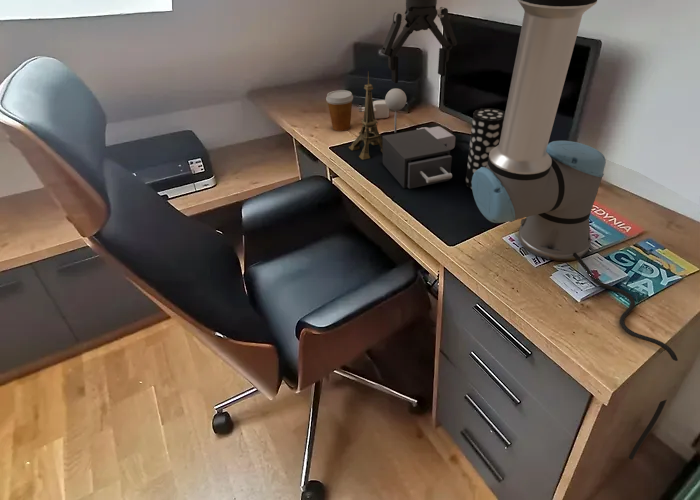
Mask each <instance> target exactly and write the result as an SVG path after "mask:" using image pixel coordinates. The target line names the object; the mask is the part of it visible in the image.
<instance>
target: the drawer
mask: <svg viewBox="0 0 700 500" xmlns="http://www.w3.org/2000/svg"><path fill="white" fill-rule="evenodd" d="M452 161H453V156H452V155H451V154H450V155H447V156H445V154H440V155H435V156H430V157H425V158H420V159H415V160H409V161H407V183H408V188H407V189H408V190H411V189H416V188H419V187H425V186H429V185H434V184H440V183H444V182H448V181H449V182H450V181H451V179H452V178H453V173H451V170H452Z"/></svg>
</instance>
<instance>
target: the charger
mask: <svg viewBox="0 0 700 500" xmlns="http://www.w3.org/2000/svg"><path fill="white" fill-rule="evenodd" d="M418 129H426V130H427V131H428V132H429V133H430V134H432V135H433V136H434V137H435V138H436V139H438V140H439V141H440V142H441V143H442V144H444V145H445V146H446V147H447V148H448V149H450V151H451V150H453V149H454V148H455V146H456V137H457V136H455V135H454V134H452V133H451V132H449V131H448V130H447V129H445V128H443V127H442V126H432V127H427V126H424V127H419V128H418V127H417V128H416V130H418Z"/></svg>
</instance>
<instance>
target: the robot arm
mask: <svg viewBox="0 0 700 500" xmlns="http://www.w3.org/2000/svg"><path fill="white" fill-rule="evenodd" d="M517 2H518V3H519V4H520V5H521V8H523V11H524V12H523V18H522V23H521V29H520V33H519V39H518V45H517V49H516V55H515V60H514V66H513V70H512V75H511V80H510V86H509V91H508V97H507V102H506V106H505V111H504V112H505V116H504V122H503V127H502V132H501V137H500V142H499V145H498V146H496V147H494V148H493V149H492V150H491V151H490V153H489V157H488V163H487V166H486V167H481V168H480V169H478V170H477V171H475V172H474V174H473V177H472V189H471V190H472V195H473V198H474V202H475V204H476V206H477V209H478V210H479V212H480V213H481V214H482V216H483V217H484V218H485V219H486V220H488V221H489V222H490V223H494V224H501V223H508V222H509V223H512V222H514V221H515V220H520V226H519V229H518V234H517V239H518V242H519V244H520V245H521V246H522V247H523V249H525V250H526V251H528V252H529V253H531V254H533V255H534V256H537V257H539V258H542V259H545V260H550V261H556V262H557V261H558V262H571V261H576V262H578V263H579V264H580V266H581V267H582V268H583V269H584V271H585V272H586V271H587V272H586V274H587V276H588V277H589V278H590V279H591V281H593V282H594V283H595V284H597V285H598V286H600V288H601V287H602V288H604V289H606V290H609V291H611V292H614V293H618V294H620V295H623V296H624V297H626V298H627V300H628V301H629V307H628V308H627V309H626V310H624V312H623V313H622V314H621V315H620V317H619V326H620V327H621V329H622V330H623V331H624V332H625V333H627V334H628V335H630V336H631V337H634V338H636V339H638V340H642V341H645V342H648V343H651V344H654V345H656V346H659V347H660V348H662V349H663V350H665V351H666V352H667V354H669V356H670V358H671V360H673V361H675V362H678V361H679V359H678V357H677V355H676V353H675V352H674V350H673V349H672V348H671V347H670V346H669V345H668V344H666V343H664V342H663V341H661V340H658V339H657V338H653V337H650V336H647V335H644V334H640V333H638V332H635V331H634V330H632V329H630V328H629V327H628V326H627V325H626V323H625V321H626V318H627V317H628V315H630V314H631V313H632V312H633V310H634V308H636V301H635V299H634V297H633V296H632V295H631V294H630V292H627V291H625V290H623V289H621V288H618V287H615V286H613V285H610V284H607V283H604V282H602V281H601V280H599V279H598V278H597V277H596V276H595V275H594V273H593V272H592V271H591V269H590V268H589V267H588V265H587V264H586V263H585V262H584V261H583V259H582V258H583V257H584V256H585V255H587V254H588V252H589V249H590V247H591V244H592V243H591V242H592V238H591V227H590V226H591V225H590V216H591V212H592V211H593V207H594V203H595V201H596V198H597V194H598V192H599V189H600V185H601V182H602V180H603V177H604V174H605V173H604V171H605V168H606V163H607V162H606V161H607V160H606V157H605V155H604V154H603V153H602V152H601V151H599V150H598V149H597V148H594V147H592V146H590V145H588V144H585V143H581V142H577V141H571V140H553V141H551V142H549V141H550V138H551V134H552V131H553V128H554V127H553V126H554V123H555V120H556V119H555V118H556V116H557V112H558V108H559V104H560V99H561V97H562V93H563V89H564V85H565V81H566V78H567V74H568V70H569V67H570V63H571V59H572V56H573V52H574V48H575V44H576V40H577V36H578V34H579V30H580V27H581V21H582V17H583V15H584V14H585V13H586V12H587V11H588V10H589V9H591V8H593V6H595V5H596V4H597V3H598V0H517ZM437 4H438V0H405V11H404V13H403V12H402V13H401V12H398V11H397V12H396V11H395V12H393V16H392V23H391V25H390V28H389V29H388V33H387V35H386V38H385V40H384V42H383V45H382V47H381V49H380V52H381V53H382V54H383V55H385V56H387V58H388V60H387V61H388V62H387V63H388V66H387V67H388V69H389V70H390V71H391V82H393V83H394V84H399V56H398V55H397V54H398V53H399V51H400V50H401V48H402V47H403V45H404V44H405V42H406V41H407V39H408V38H409V37H410V35H412V34H413V32H414V31H415V32H420V31H428V30H430V32H431V33H432V34H433V36H434V37H435V38H436V40H437V41H438V43H439V45H441V47H439V49H438V50H439V51H438V65H437V74H438V75H439V76H441V77H446V67H447V66H446V65H447V63H448V62H449V60H450V51H451V50H452V49H453V47H456V46H457V44H458V41H457V38H456V35H455V32H454V30H453V27H452V25H451V24H452V23H451V21H450V19H449V9H448V8H447V7H445V6H440V7H439V8H437ZM436 18H439V21H440V24H441V26H442V29H443V32H444V34H445V36H444V34H443V33H442V32H441V30H440V29H439V27H438V25H437V23H436V22H435V20H436ZM404 20H405V22H406V23H405V24H404V26H402V23H404ZM401 26H402V30H401V32H400V33H399V35H398V32H399V30H400V28H401ZM589 274H590V275H591V276H590V275H589ZM593 275H594V276H595V278H596V279H595V278H593V277H594V276H593ZM592 276H593V277H592ZM667 400H668V399H664V400H661V401H659V403H658V405H657V408H656V410H655V411H654V413H653V416H652V418H651V419H650V421H649V423H647V426H646V427H645V429H644V431H643V432H642V433H641V435H640V437H639V438H638V440H637V441H636V443H635V445H634V447H633V448H632V450H631V451H630V454H629V455H628V458H629V460H633V459H634V458H635V456H636V455H637V452H638V451H639V449H640V447H641V446H642V444H644V441H645V440H646V439H647V437H648V435H649V434H650V432H651V431H652V430H653V428H654V427H655V425H656V423H657V422H658V419H659V418H660V416H661V414H662V412H663V409H664V408H665V405H666V403H667Z"/></svg>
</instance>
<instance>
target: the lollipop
mask: <svg viewBox="0 0 700 500" xmlns="http://www.w3.org/2000/svg"><path fill="white" fill-rule="evenodd" d="M384 100H385V103H386V105H387V107H388V108H389V110H391V111H392V112H393V111H394V123H393V124H394V134H396V133H397V121H398V120H397V118H398V117H397V116H398V115H397V113H398V111H401V110H402V109H403V108H404V107H405V106H406V104H407V95H406V93H405V91H403V90H402V89H401V88H395V87H394V88H391V89H390V90H389V91H388V92H387V93H386V94H385V98H384Z"/></svg>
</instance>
